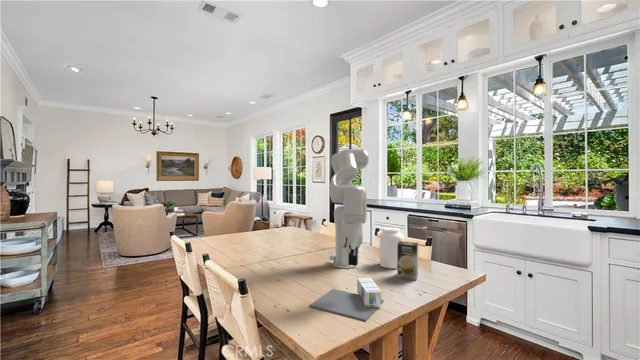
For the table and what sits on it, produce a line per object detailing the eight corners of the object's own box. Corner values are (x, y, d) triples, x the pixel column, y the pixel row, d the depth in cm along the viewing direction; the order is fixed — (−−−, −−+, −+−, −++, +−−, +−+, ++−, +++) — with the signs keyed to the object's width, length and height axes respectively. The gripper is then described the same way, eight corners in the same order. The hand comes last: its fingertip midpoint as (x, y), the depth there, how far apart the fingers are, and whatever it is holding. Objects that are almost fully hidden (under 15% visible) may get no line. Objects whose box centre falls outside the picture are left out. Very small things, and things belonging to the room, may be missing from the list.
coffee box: (396, 277, 138) (396, 243, 138) (399, 273, 144) (398, 240, 144) (417, 280, 135) (417, 245, 134) (418, 276, 140) (418, 242, 140)
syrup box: (357, 277, 120) (365, 291, 106) (371, 277, 120) (381, 291, 106) (357, 291, 120) (365, 307, 106) (371, 291, 120) (381, 307, 106)
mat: (309, 306, 108) (309, 304, 108) (332, 290, 124) (332, 288, 124) (366, 321, 97) (366, 319, 97) (383, 301, 112) (383, 299, 112)
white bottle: (406, 264, 159) (406, 227, 159) (399, 270, 149) (399, 231, 149) (384, 260, 166) (384, 225, 166) (376, 266, 156) (376, 228, 155)
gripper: (352, 214, 123) (352, 258, 124) (335, 220, 110) (335, 268, 111) (369, 216, 119) (369, 261, 120) (354, 222, 106) (354, 272, 107)
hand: (353, 264), depth 115 cm, fingers closed
